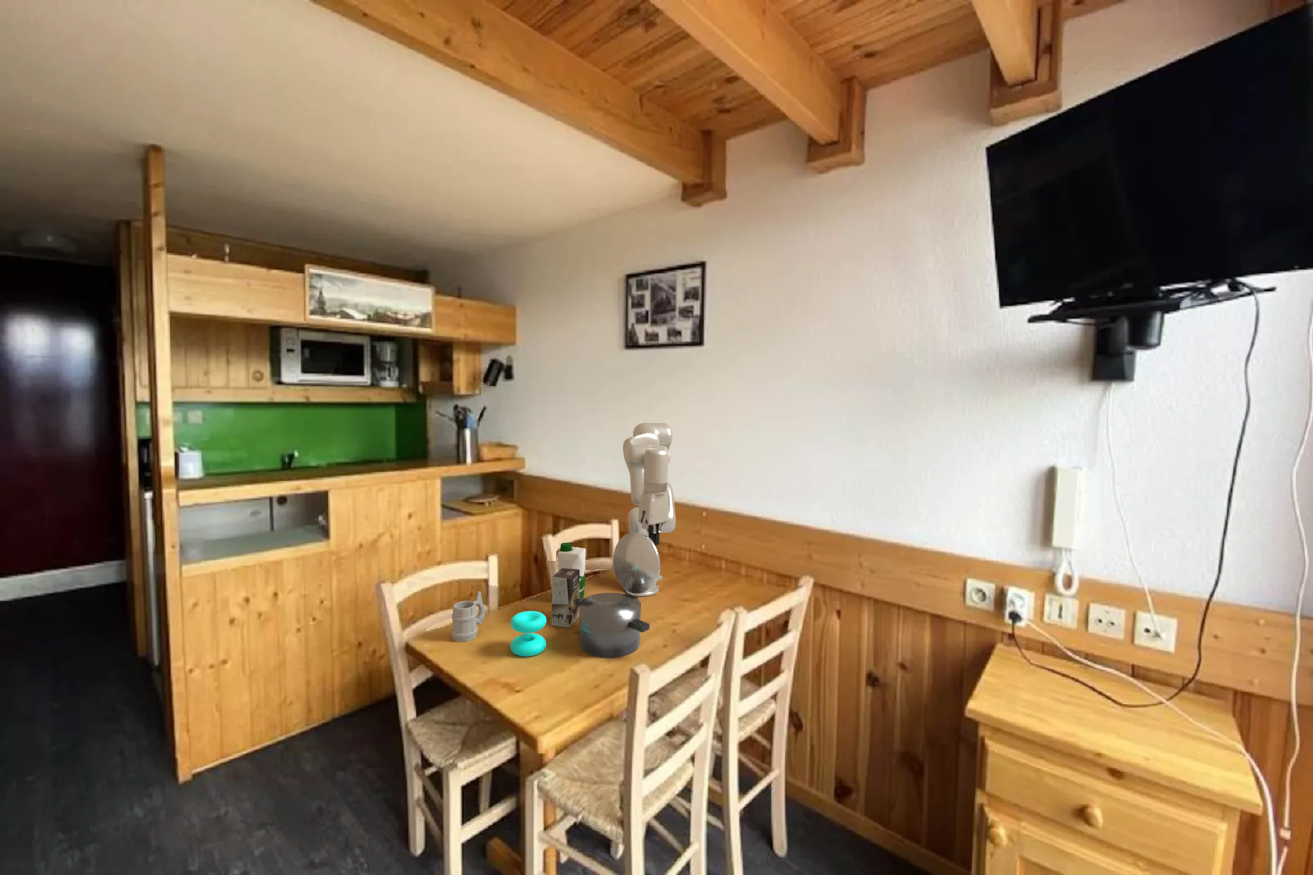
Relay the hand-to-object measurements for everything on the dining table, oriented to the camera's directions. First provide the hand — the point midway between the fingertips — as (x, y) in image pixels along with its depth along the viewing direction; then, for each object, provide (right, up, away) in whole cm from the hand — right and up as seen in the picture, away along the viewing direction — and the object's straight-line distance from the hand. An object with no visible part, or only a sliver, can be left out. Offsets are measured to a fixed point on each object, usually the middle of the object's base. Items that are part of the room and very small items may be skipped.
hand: (653, 544), depth 178 cm
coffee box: (-28, -26, +2) cm, 38 cm away
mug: (-56, -26, -8) cm, 62 cm away
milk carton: (-29, -24, +20) cm, 43 cm away
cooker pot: (-13, -27, -12) cm, 32 cm away
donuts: (-36, -27, -17) cm, 48 cm away
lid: (-6, -5, -6) cm, 10 cm away
